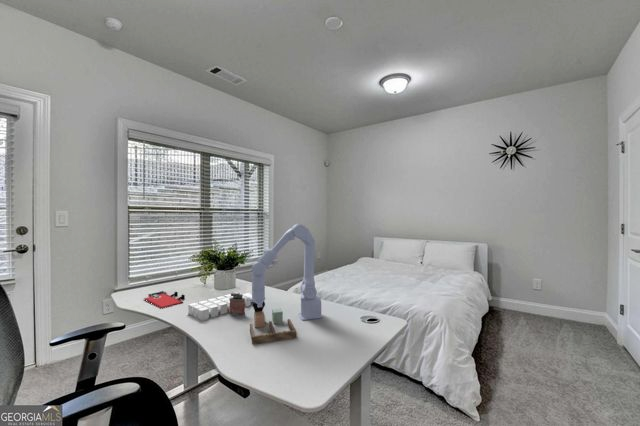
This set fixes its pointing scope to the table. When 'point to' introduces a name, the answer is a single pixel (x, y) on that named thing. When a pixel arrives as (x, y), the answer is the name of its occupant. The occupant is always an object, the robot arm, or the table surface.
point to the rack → (273, 334)
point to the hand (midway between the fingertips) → (258, 318)
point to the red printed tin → (237, 304)
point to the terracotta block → (259, 319)
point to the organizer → (214, 306)
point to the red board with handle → (164, 299)
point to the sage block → (277, 316)
